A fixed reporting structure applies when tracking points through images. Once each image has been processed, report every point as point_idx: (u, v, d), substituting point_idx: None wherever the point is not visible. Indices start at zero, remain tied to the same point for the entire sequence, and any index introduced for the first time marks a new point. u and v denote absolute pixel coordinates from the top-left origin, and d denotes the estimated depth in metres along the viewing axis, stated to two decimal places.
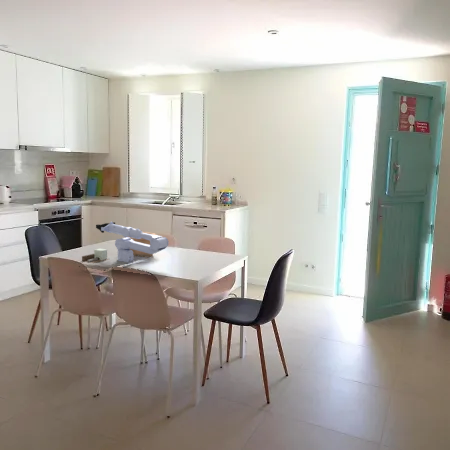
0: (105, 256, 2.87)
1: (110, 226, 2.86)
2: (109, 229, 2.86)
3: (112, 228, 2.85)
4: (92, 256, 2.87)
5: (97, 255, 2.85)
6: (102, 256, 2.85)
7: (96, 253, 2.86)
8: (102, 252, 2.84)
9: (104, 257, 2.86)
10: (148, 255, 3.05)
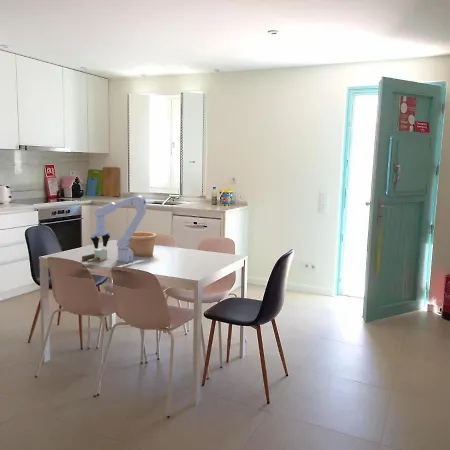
0: (105, 256, 2.87)
1: (96, 231, 2.84)
2: (97, 232, 2.83)
3: (96, 228, 2.83)
4: (92, 256, 2.87)
5: (97, 255, 2.85)
6: (102, 256, 2.85)
7: (96, 253, 2.86)
8: (102, 252, 2.84)
9: (104, 257, 2.86)
10: (148, 255, 3.05)
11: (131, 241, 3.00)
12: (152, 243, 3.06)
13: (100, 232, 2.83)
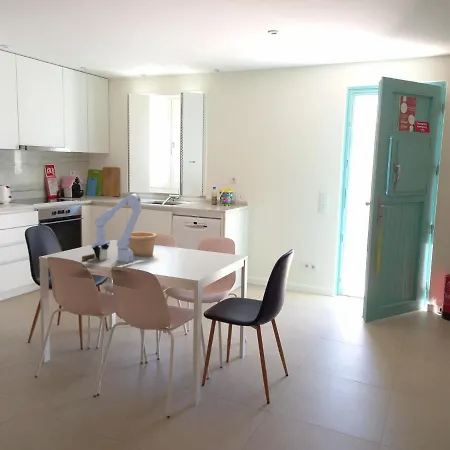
0: (105, 256, 2.87)
1: (96, 240, 2.85)
2: (98, 241, 2.84)
3: (96, 237, 2.84)
4: (92, 256, 2.87)
5: None
6: (102, 256, 2.85)
7: None
8: (102, 252, 2.84)
9: (104, 257, 2.86)
10: (148, 255, 3.05)
11: (131, 241, 3.00)
12: (152, 243, 3.05)
13: (100, 242, 2.84)
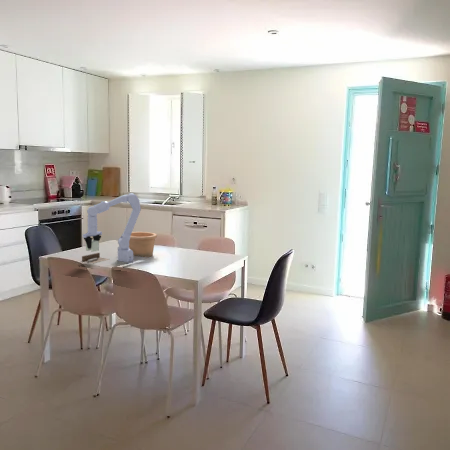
0: (97, 247, 2.80)
1: None
2: (89, 232, 2.76)
3: (88, 228, 2.77)
4: (92, 256, 2.87)
5: None
6: (94, 247, 2.78)
7: None
8: (94, 243, 2.77)
9: (96, 248, 2.79)
10: (148, 255, 3.05)
11: (131, 241, 3.00)
12: (152, 243, 3.05)
13: (92, 232, 2.76)
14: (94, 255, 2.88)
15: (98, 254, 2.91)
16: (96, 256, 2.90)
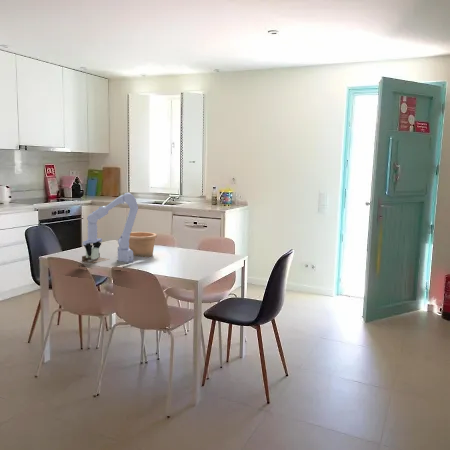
0: (97, 254, 2.81)
1: None
2: (89, 239, 2.77)
3: (88, 235, 2.77)
4: None
5: None
6: (94, 254, 2.78)
7: None
8: (94, 250, 2.78)
9: (96, 256, 2.80)
10: (148, 255, 3.05)
11: (131, 241, 3.00)
12: (152, 243, 3.05)
13: (92, 239, 2.77)
14: None
15: None
16: None
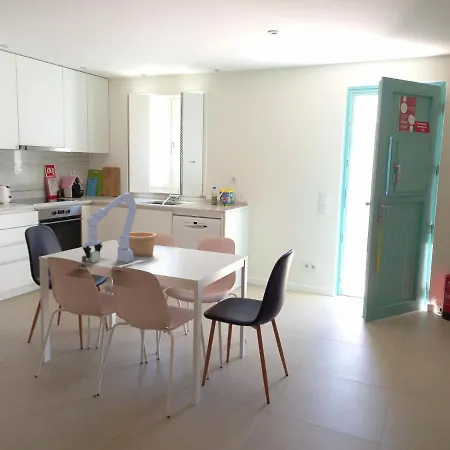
0: (97, 258, 2.81)
1: None
2: (89, 241, 2.77)
3: (88, 237, 2.78)
4: None
5: None
6: (94, 258, 2.79)
7: None
8: (94, 254, 2.78)
9: (96, 259, 2.80)
10: (148, 255, 3.05)
11: (131, 241, 3.00)
12: (152, 243, 3.05)
13: (92, 242, 2.77)
14: None
15: None
16: None
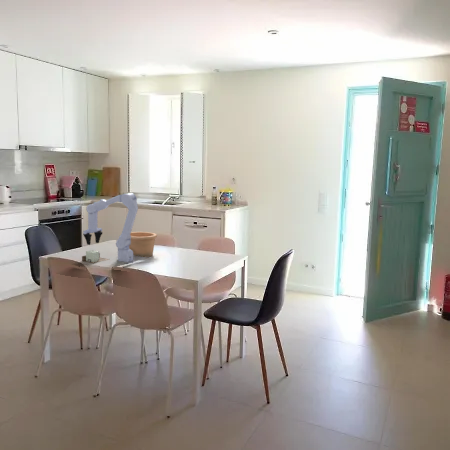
0: (97, 258, 2.81)
1: (88, 227, 2.87)
2: (90, 228, 2.86)
3: (89, 224, 2.86)
4: None
5: (89, 257, 2.79)
6: (94, 258, 2.79)
7: (87, 254, 2.80)
8: (94, 254, 2.78)
9: (96, 259, 2.80)
10: (148, 255, 3.05)
11: (131, 241, 3.00)
12: (152, 243, 3.05)
13: (92, 228, 2.86)
14: None
15: None
16: None
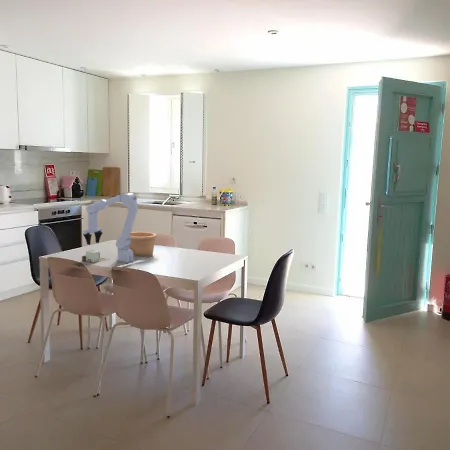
0: (97, 258, 2.81)
1: (88, 227, 2.87)
2: (90, 228, 2.86)
3: (89, 224, 2.86)
4: None
5: (89, 257, 2.79)
6: (94, 258, 2.79)
7: (87, 254, 2.80)
8: (94, 254, 2.78)
9: (96, 259, 2.80)
10: (148, 255, 3.05)
11: (131, 241, 3.00)
12: (152, 243, 3.05)
13: (92, 228, 2.86)
14: None
15: None
16: None
